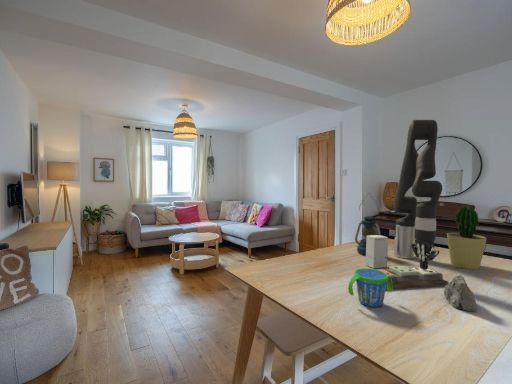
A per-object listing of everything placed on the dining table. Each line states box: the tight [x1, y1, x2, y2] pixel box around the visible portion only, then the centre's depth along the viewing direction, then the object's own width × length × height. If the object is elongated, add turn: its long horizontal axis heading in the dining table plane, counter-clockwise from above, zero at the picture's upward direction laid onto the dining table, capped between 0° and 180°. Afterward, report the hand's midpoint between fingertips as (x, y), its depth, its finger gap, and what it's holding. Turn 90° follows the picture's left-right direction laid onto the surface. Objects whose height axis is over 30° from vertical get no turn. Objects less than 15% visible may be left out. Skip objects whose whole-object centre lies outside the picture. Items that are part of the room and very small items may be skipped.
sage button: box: [388, 265, 417, 276], centre depth 109 cm, size 7×7×2 cm
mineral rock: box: [443, 274, 478, 312], centre depth 90 cm, size 13×11×10 cm
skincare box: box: [365, 234, 389, 269], centre depth 128 cm, size 8×6×15 cm
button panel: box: [374, 266, 450, 291], centre depth 109 cm, size 14×30×4 cm, turn 100°
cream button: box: [409, 266, 438, 274], centre depth 111 cm, size 7×7×2 cm
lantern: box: [354, 192, 382, 257], centre depth 149 cm, size 14×12×35 cm
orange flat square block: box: [378, 268, 394, 276], centre depth 107 cm, size 7×7×2 cm
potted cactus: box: [446, 205, 487, 270], centre depth 130 cm, size 15×15×30 cm
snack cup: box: [347, 268, 394, 308], centre depth 89 cm, size 16×10×10 cm
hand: (423, 269), depth 111 cm, fingers closed
